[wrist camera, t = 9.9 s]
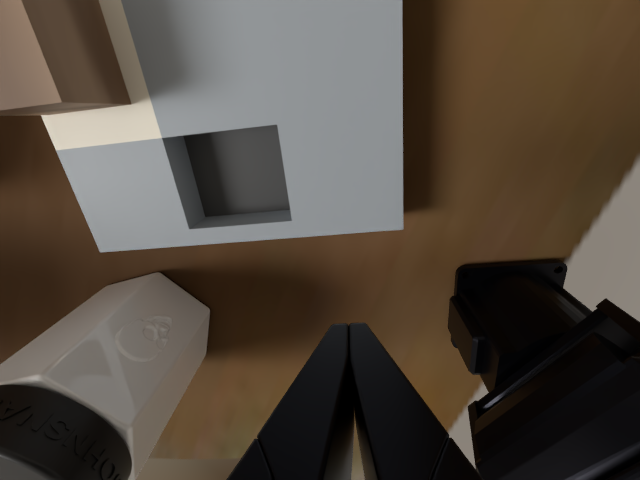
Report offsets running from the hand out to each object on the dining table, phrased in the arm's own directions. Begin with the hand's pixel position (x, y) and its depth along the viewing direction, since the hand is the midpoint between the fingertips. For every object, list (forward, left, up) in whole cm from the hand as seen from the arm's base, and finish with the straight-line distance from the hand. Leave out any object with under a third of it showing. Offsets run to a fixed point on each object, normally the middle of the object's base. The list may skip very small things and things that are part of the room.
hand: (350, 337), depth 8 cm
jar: (+15, +8, -12) cm, 21 cm away
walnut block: (+12, -9, -10) cm, 18 cm away
